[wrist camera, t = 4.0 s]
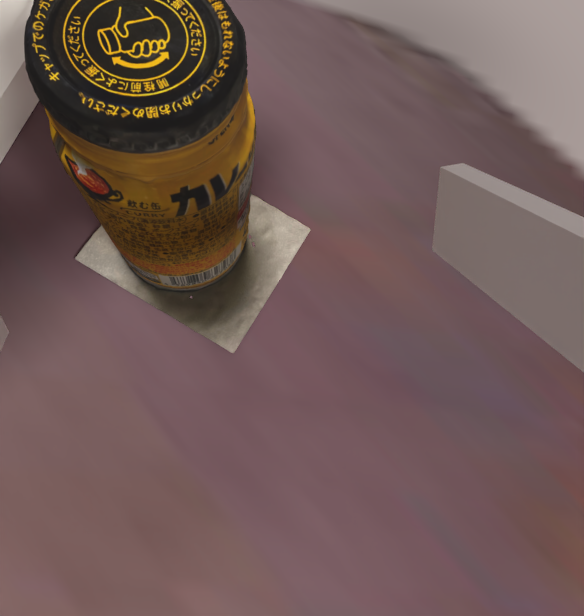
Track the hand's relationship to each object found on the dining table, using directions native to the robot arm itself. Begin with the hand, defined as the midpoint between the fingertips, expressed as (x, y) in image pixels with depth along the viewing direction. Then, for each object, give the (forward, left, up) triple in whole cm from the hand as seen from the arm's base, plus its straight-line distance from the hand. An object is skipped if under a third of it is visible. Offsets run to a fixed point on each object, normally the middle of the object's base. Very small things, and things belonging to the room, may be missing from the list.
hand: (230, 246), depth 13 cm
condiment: (-3, +3, -9) cm, 10 cm away
